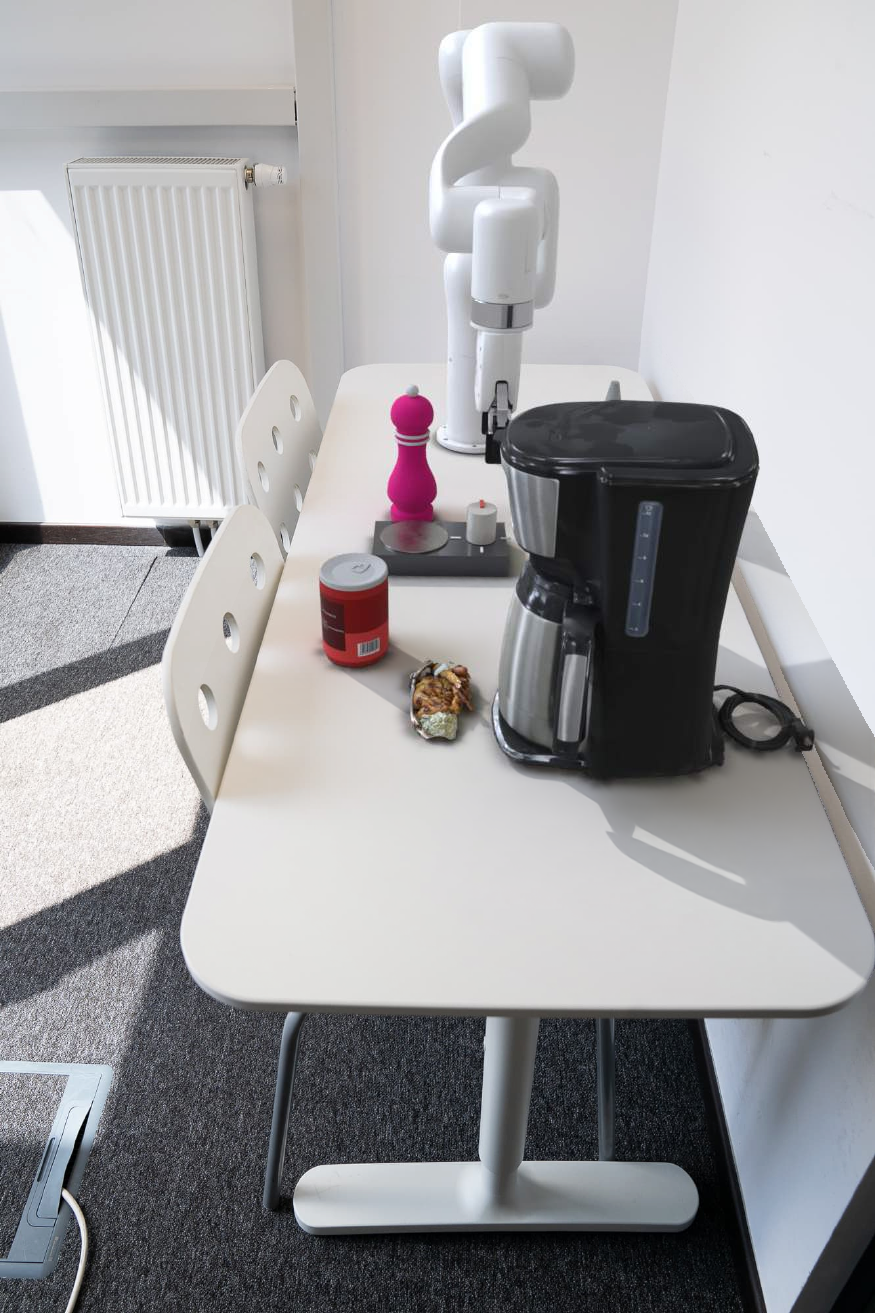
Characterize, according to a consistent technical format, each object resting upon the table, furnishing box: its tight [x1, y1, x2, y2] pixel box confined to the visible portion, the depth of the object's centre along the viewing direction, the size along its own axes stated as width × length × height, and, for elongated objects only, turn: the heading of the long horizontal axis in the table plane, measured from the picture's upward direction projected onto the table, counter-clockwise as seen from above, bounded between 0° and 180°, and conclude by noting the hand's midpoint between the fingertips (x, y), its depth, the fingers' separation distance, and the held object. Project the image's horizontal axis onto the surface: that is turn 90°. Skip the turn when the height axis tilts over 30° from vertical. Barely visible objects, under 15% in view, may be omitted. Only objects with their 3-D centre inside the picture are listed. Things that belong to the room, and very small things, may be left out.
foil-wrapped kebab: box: [408, 657, 474, 740], centre depth 111 cm, size 7×12×4 cm, turn 2°
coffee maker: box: [491, 399, 816, 780], centre depth 101 cm, size 23×32×34 cm
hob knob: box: [466, 499, 498, 545], centre depth 138 cm, size 4×4×5 cm
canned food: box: [318, 552, 390, 668], centre depth 118 cm, size 8×8×11 cm
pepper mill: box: [386, 383, 438, 522], centre depth 145 cm, size 7×7×20 cm
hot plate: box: [371, 520, 512, 577], centre depth 140 cm, size 19×10×3 cm, turn 90°
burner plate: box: [380, 521, 448, 554], centre depth 139 cm, size 9×9×1 cm
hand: (495, 448), depth 132 cm, fingers open, 9 cm apart
